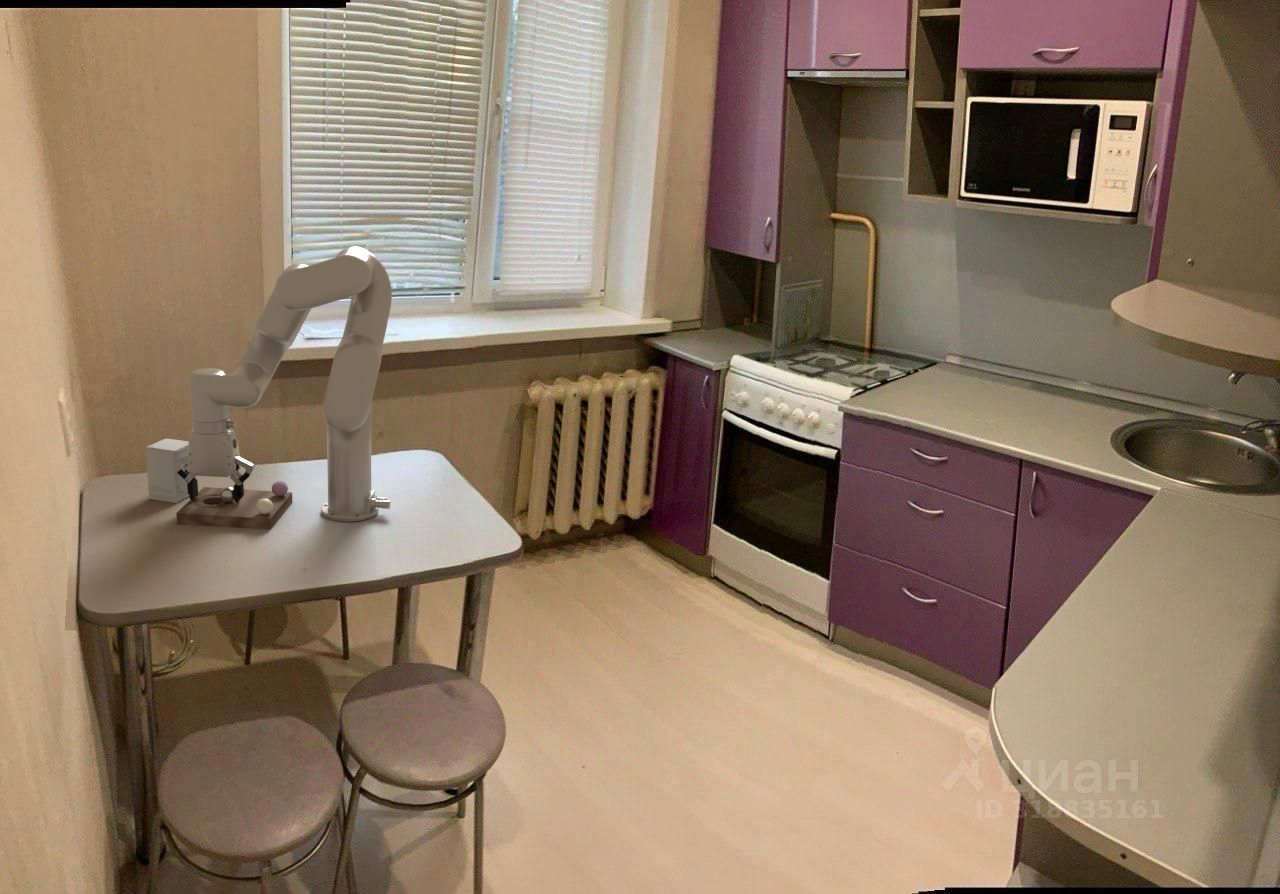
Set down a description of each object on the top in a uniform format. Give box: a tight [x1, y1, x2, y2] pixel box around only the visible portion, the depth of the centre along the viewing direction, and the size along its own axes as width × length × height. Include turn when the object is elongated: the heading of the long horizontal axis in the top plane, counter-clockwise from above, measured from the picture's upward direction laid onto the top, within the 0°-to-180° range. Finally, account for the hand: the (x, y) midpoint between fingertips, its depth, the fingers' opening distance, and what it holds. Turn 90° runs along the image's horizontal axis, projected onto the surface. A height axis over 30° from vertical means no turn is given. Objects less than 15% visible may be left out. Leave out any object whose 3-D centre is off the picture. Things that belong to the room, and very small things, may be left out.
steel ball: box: [220, 486, 234, 502], centre depth 231 cm, size 4×4×4 cm
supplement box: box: [145, 438, 190, 504], centre depth 236 cm, size 7×7×13 cm
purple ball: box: [271, 480, 289, 496], centre depth 236 cm, size 4×4×4 cm
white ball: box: [256, 498, 273, 514], centre depth 226 cm, size 4×4×4 cm
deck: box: [176, 486, 293, 530], centre depth 232 cm, size 20×16×2 cm
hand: (216, 498), depth 231 cm, fingers open, 9 cm apart
